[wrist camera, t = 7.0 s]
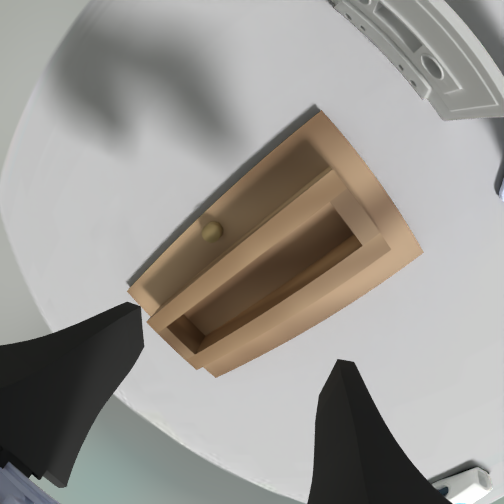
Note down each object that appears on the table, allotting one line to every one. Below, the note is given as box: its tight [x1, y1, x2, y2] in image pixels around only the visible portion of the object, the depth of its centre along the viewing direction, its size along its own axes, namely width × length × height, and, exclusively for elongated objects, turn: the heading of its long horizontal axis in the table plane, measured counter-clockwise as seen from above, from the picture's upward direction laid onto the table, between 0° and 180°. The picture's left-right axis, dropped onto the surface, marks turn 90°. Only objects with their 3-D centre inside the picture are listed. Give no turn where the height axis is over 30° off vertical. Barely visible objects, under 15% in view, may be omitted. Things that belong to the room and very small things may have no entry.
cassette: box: [331, 0, 504, 121], centre depth 9 cm, size 12×2×8 cm, turn 43°
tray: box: [127, 110, 423, 378], centre depth 18 cm, size 11×20×3 cm, turn 132°
